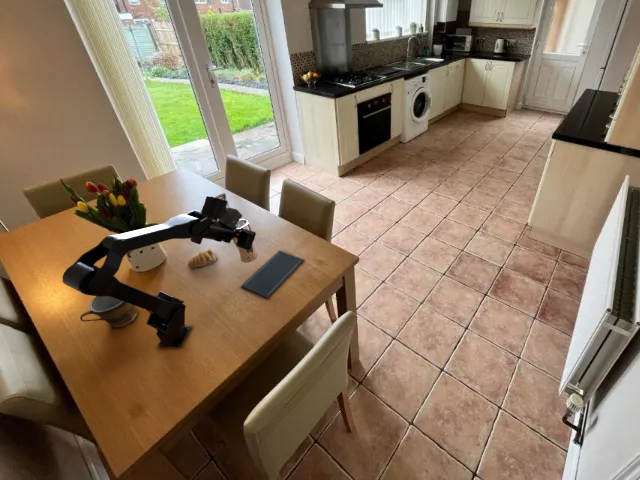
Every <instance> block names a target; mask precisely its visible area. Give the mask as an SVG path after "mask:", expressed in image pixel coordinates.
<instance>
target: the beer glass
mask: <svg viewBox="0 0 640 480" xmlns="http://www.w3.org/2000/svg"><path fill="white" fill-rule="evenodd" d="M235 226H237V229H236V230H237V231H240V232H241V231H242V230H243V229H247V230H250V231H253V230H252V227H251V225H250V223H249V221H248V220H247V219H244V218H240V220H239V221H238V223H237V224H236V225H235ZM235 234H236V233H235ZM237 235H239V234H237ZM237 241H238V238H235V237H234V238H233V240H232V243H233V244H234V246H235V247H236V249H237V251H238V253H239V260H240V262H241V263H244V264H246V263H251V262H253V261H255V260H256V259H257V258H258V255H259V254H258V253H257V250H256V248H255V245H254V243H253V244H252V246H251V249H249V250H247V249H243V248H240V247H237V244H236V243H237Z"/></svg>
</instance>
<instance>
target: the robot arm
mask: <svg viewBox="0 0 640 480" xmlns="http://www.w3.org/2000/svg"><path fill="white" fill-rule="evenodd" d="M215 197H216V196H209V195H207V196H206V197H205V199H204V203H203V205H202V209H201V211H199V210H195V209H193V210H192V211H189V212H186V213H181V214H178V215H176V216H173V217H171V218H170V219H168V220H167V221H166V222H163V223H160V224H156V225H152V226H148V227H144V228H140V229H136V230H131V231H128V232H127V231H126V232H123V233H119V234H111V235H110V234H109V235H106V236H105V237H104V238H103V239H101V241H100V242H99V243H98V244H97V245H96V246H94V247H92V248H91V249H89V250H87V251H86V252H84V253H83V254H81V255H80V256H79V257H78V259H76V261H75V262H74V263H73V264H72V265H70V266H69V267H67V268H66V270H65V271H64V272H63V274H62V277H61V279H62V283H63V284H64V285H66V286H68V287H70V288H72V289H73V290H75V291H77V292H80V293H81V294H83V295H87V296H93V297H96V296H99V297H103V296H109V297H113V298H115V299H118V300H121V301H124V302H126V303H129V304H132V305H135V307H137V308H141V309H144V310H146V311H147V312H148V313H149V316H148V318H147V321H146V323H145V324H146V325H147V326H149V327H151V328H153V329H155V330H156V331H157V332H155V334H156V336H157V338H158V339H159V343H158V344H157V345H158V346H157V347H158V348H180V347H181V346H182V344H183V343H184V341H185V339H186V337H187V336H188V334H189V332H190V331H191V329H192V327H191V326H186V324H185V323H186V308H187V306H186V305H185V304H184V303H185V301H184V300H182V299H180V298H178V297H175V296H174V295H171V294H168V293H166V292H164V291H162V290H159V292H158V294H157V295H154V294H151V293H148V292H146V291H143V290H141V289H138V288H136V287H135V286H134V287H133V286H131V285H129V284H126V283H124V282H122V281H120V280H119V279H118V278H117V276H115V275H116V274H117V273H118V272H119V270H120V268H121V264H122V262H123V259H124V257H125V256H126V255H127V254H128V252H132V251H135V250H139V249H142V248H145V247H150V246H152V245H156V244H160V243H162V242H167V241H170V240H188V239H189V240H190V242H191V243H193V244H196V245H201V244H202V241H203V239H206V240H211V241H215V242H217V243H222V242H223V243H225V244H231V241H233V238H234V237H235V238H238V241H237V243H236V244H237V247H240V248H243V249H247V250H249V249H251V246H252V244H254V241H255V238H256V235H257V232H256V231H254V230H252V231H250V230H247V229H243V230H242V231H241V232H240V231H237V230H236V229H237V226H235V225H236V224H237V223H238V221H239V220H240V219H243V218H242V217H243V214H242V213H241V212H240V210H238V209H237V208H234V207H229V208H226V206H227V204H229V201H228V200H227V201H225V200H222V199H218V198H215ZM219 219H220V220H219ZM235 233H236V234H235ZM237 234H239V235H237ZM237 247H236V248H237ZM103 258H105V259H104V261H103V264H102V265H101V266H100V267H99V266H97V265H96V263H97V262H98V261H101V260H102V259H103Z"/></svg>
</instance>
